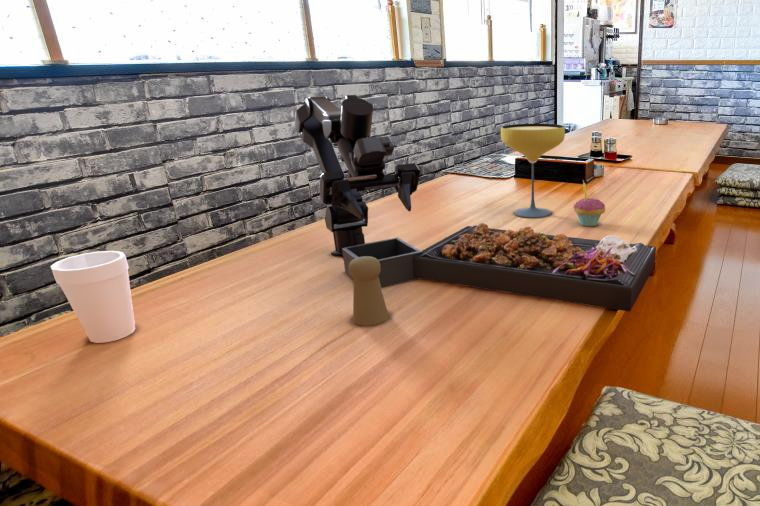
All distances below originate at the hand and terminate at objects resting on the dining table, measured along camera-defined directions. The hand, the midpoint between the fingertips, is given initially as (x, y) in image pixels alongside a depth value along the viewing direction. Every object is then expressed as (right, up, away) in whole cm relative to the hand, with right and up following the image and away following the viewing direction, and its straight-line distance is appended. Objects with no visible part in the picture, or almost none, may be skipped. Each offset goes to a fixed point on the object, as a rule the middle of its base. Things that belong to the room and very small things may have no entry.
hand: (386, 213), depth 98 cm
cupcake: (+44, +3, +48) cm, 66 cm away
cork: (-1, -19, -5) cm, 20 cm away
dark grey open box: (-4, -11, +14) cm, 18 cm away
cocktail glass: (+29, +7, +60) cm, 67 cm away
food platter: (+28, -11, +13) cm, 33 cm away
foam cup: (-43, -21, -10) cm, 49 cm away
